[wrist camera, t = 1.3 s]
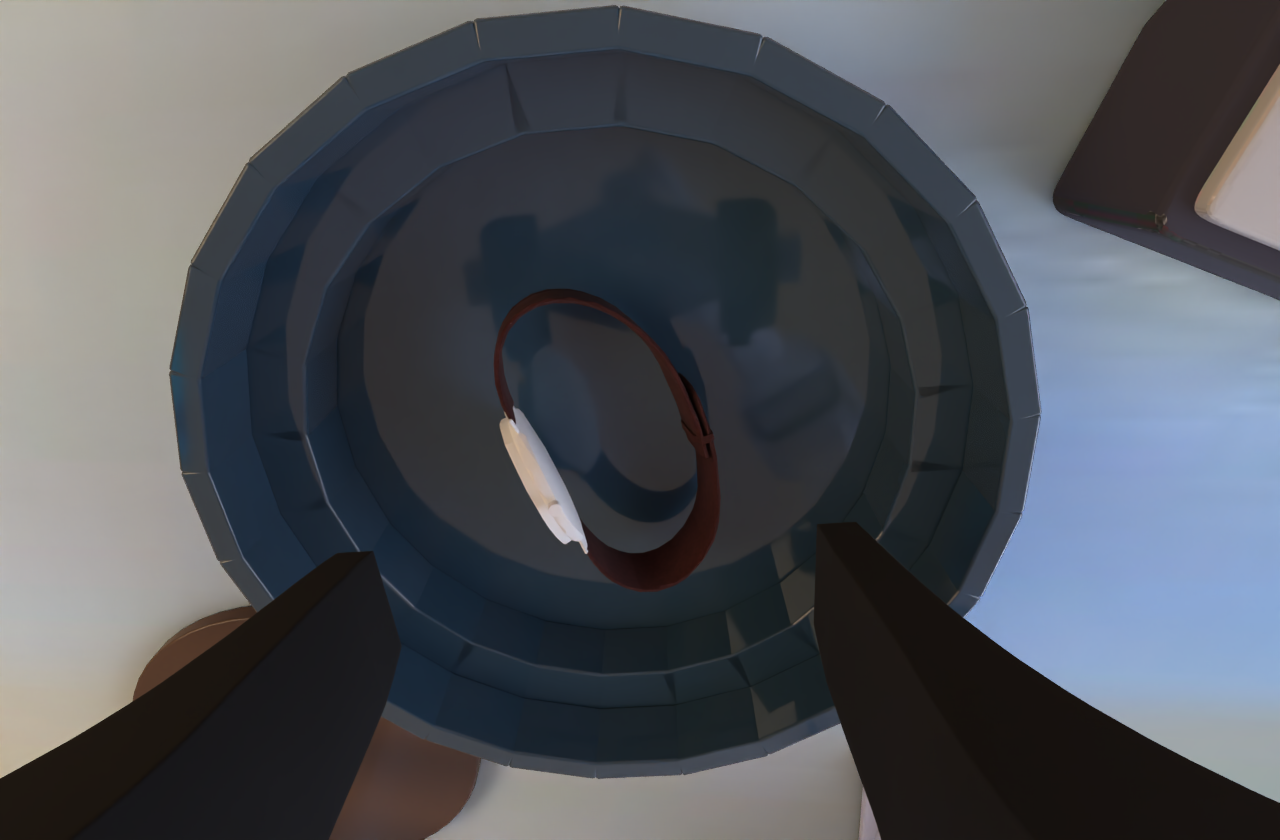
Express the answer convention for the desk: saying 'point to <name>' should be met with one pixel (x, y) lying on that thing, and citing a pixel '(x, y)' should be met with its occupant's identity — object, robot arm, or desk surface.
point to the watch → (553, 497)
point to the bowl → (602, 375)
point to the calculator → (1191, 143)
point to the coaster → (390, 771)
